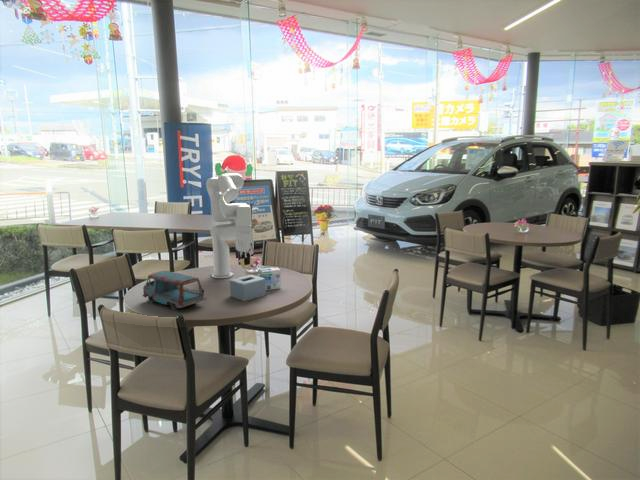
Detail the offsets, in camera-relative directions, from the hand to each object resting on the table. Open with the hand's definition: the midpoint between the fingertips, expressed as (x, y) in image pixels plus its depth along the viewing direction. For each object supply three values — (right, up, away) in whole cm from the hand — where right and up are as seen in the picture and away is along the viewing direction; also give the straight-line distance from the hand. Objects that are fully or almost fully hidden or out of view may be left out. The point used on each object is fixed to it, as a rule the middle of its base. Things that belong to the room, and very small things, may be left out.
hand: (245, 263), depth 236 cm
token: (+1, -1, +1) cm, 2 cm away
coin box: (+1, -17, +4) cm, 17 cm away
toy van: (-35, -20, -8) cm, 41 cm away
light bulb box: (+11, -14, +17) cm, 25 cm away
